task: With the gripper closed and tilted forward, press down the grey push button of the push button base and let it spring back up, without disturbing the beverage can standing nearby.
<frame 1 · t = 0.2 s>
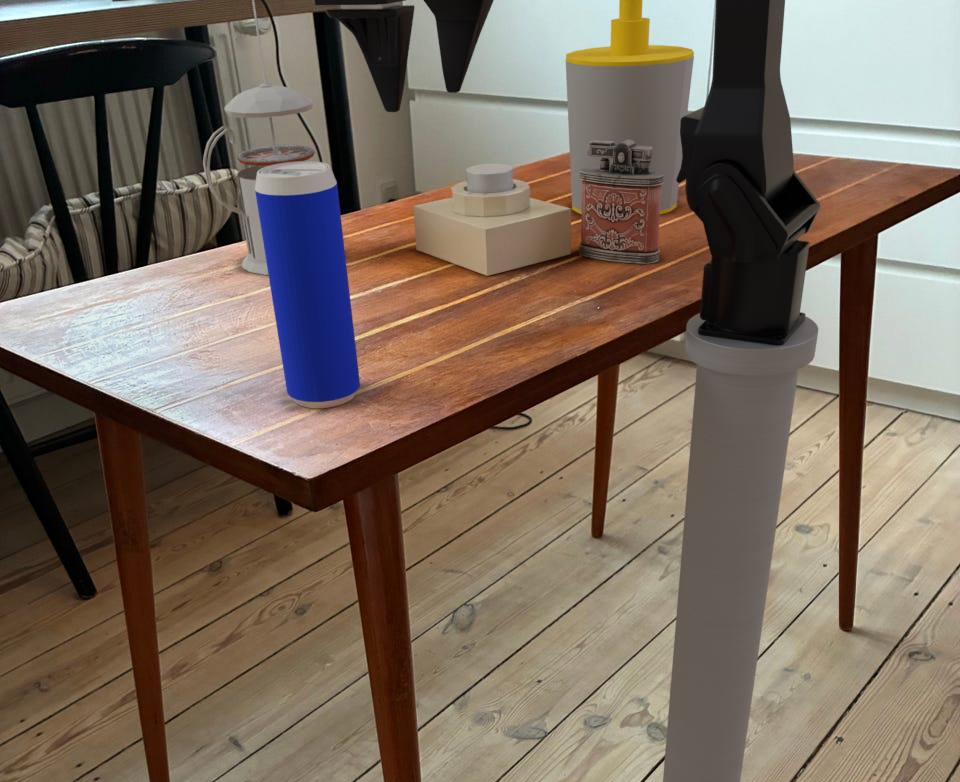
hand: (424, 101, 82), 15 cm above the table, tool pointing down, fingers open, 9 cm apart
white tapered piece: (623, 207, 114), on the table
lighter: (618, 258, 98), on the table
grey push button: (489, 180, 97), point 7 cm above the table, slide at 0.1 cm
french press: (283, 263, 102), on the table
push button base: (492, 252, 101), on the table
beverage can: (325, 398, 74), on the table
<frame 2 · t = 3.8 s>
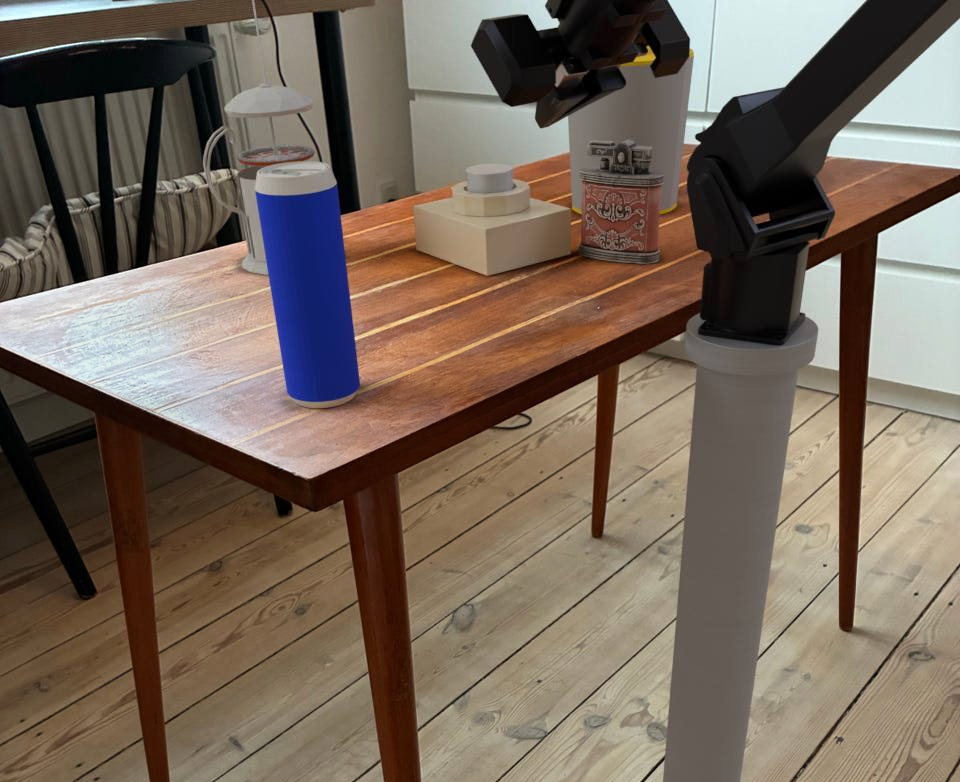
hand: (540, 123, 89), 12 cm above the table, tool tilted 45°, fingers closed
nothing on the table moved.
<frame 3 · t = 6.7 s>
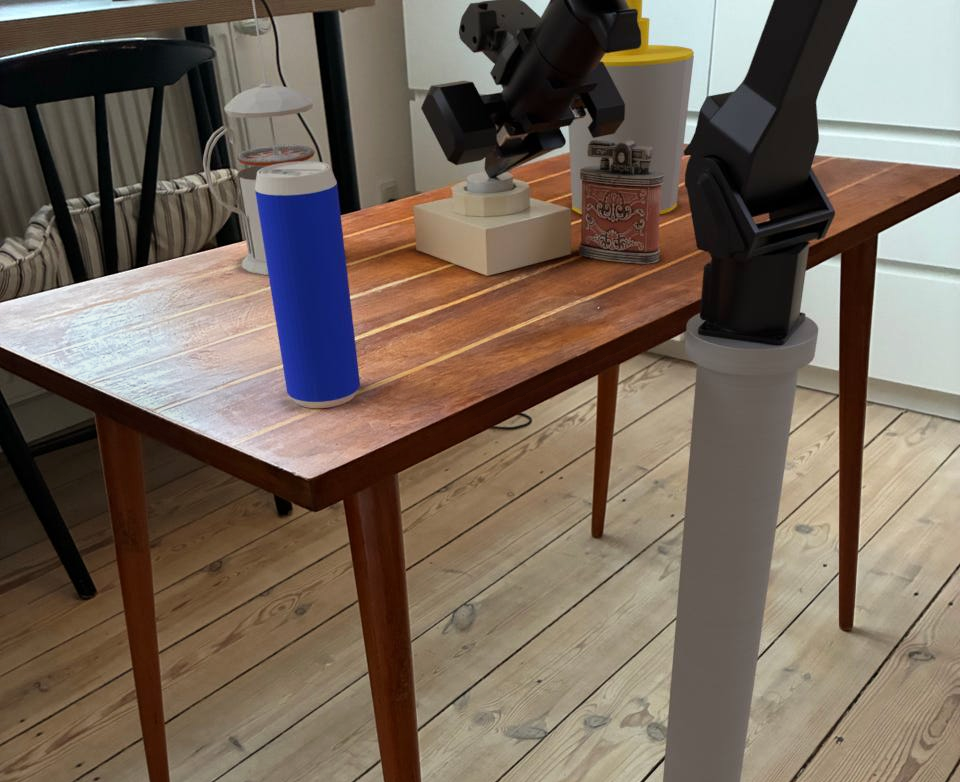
hand: (489, 173, 97), 7 cm above the table, tool tilted 45°, fingers closed, pressing on grey push button
grey push button: (490, 188, 98), point 6 cm above the table, slide at -0.6 cm, touching gripper
everything else where it was.
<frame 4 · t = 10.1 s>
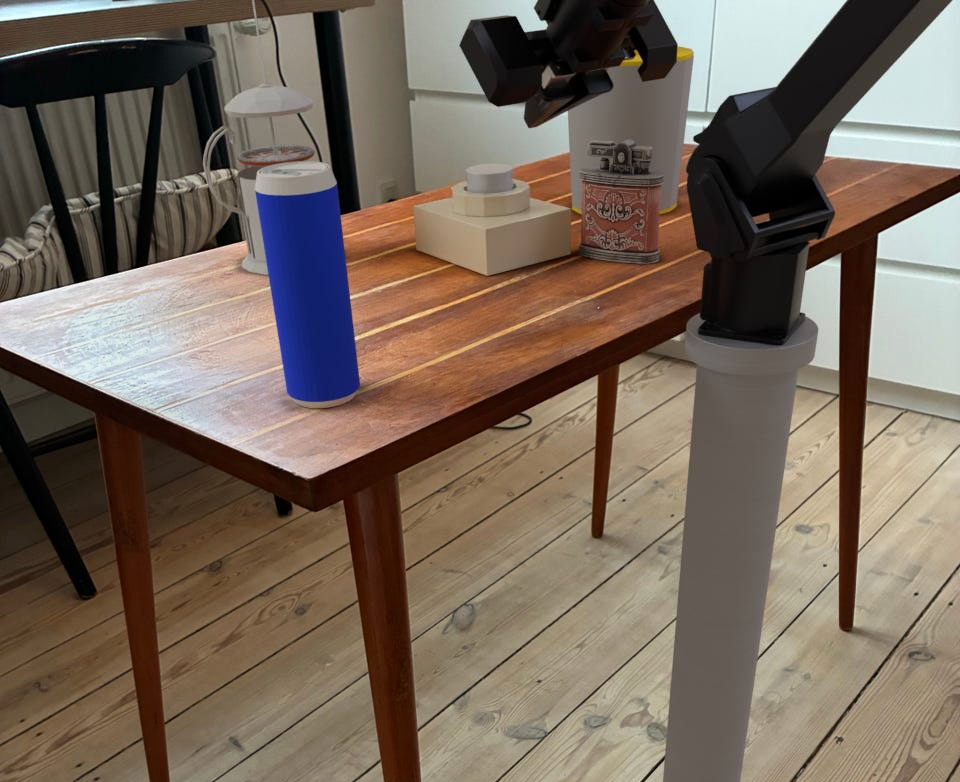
hand: (529, 123, 90), 12 cm above the table, tool tilted 45°, fingers closed
grey push button: (489, 180, 97), point 7 cm above the table, slide at 0.1 cm
everything else where it was.
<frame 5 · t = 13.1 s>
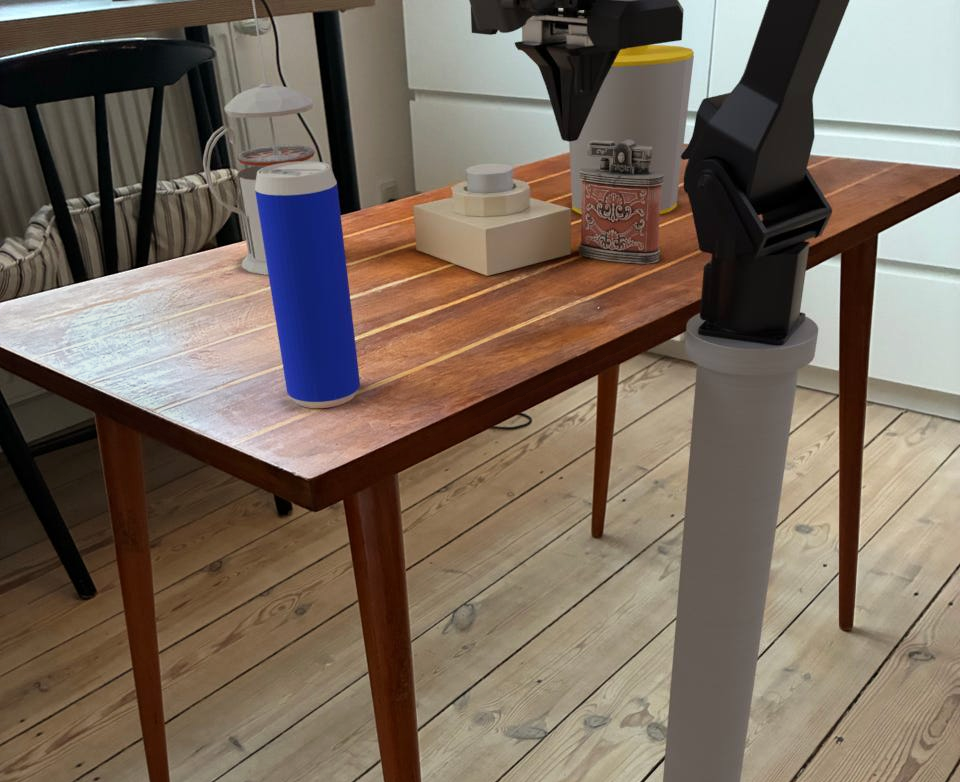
hand: (569, 140, 84), 12 cm above the table, tool pointing down, fingers closed
nothing on the table moved.
at the end: grey push button pushed in 1.1 cm at the most during the clip, back to where it started at the end; grey push button slide at 0.1 cm; beverage can moved 0.2 cm from its start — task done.
